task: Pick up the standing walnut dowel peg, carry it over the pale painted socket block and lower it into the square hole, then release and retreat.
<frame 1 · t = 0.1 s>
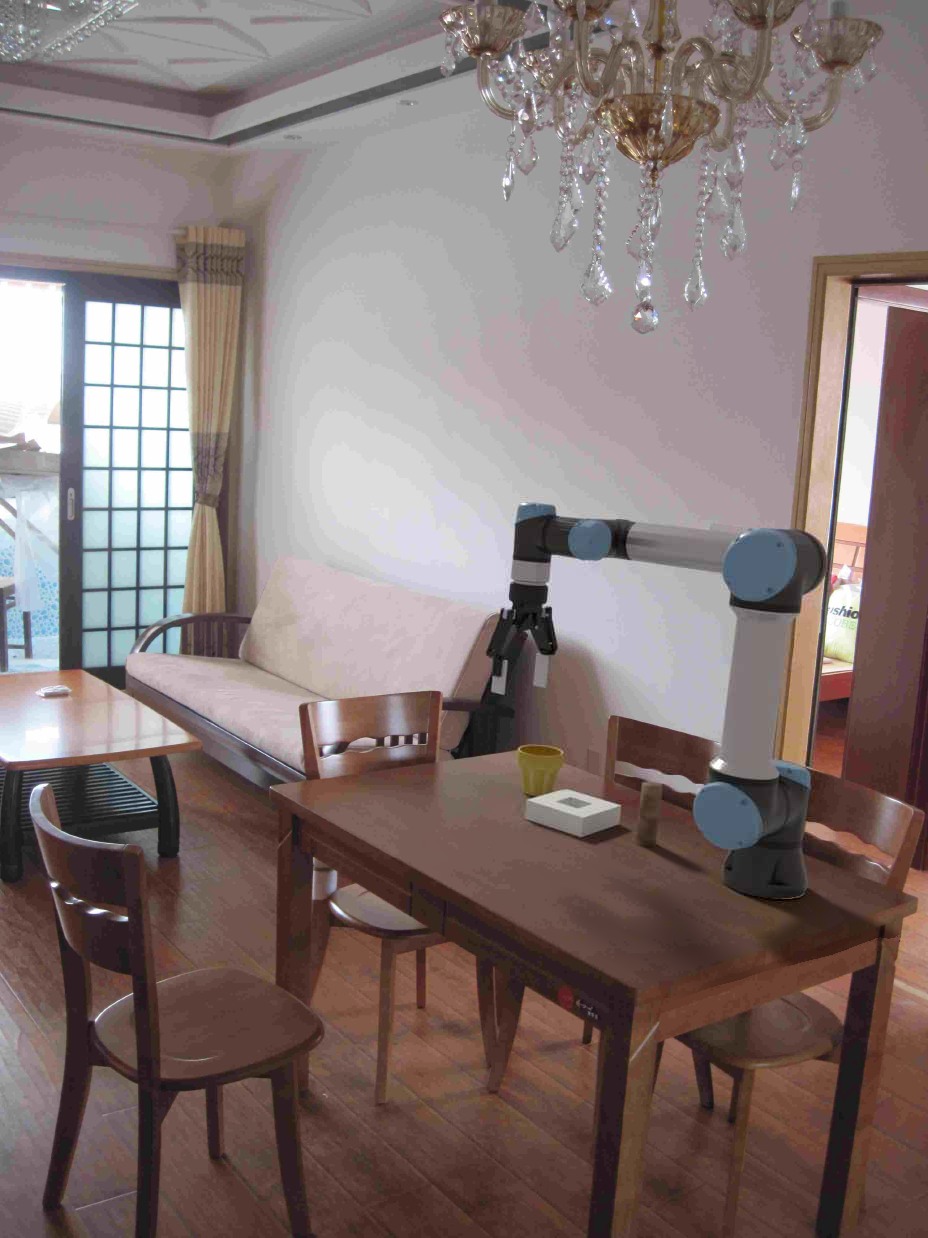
hand: (519, 689, 226), 28 cm above the table, fingers open, 13 cm apart
peg: (645, 843, 227), on the table
plant pot: (536, 793, 256), on the table
socket block: (572, 821, 237), on the table
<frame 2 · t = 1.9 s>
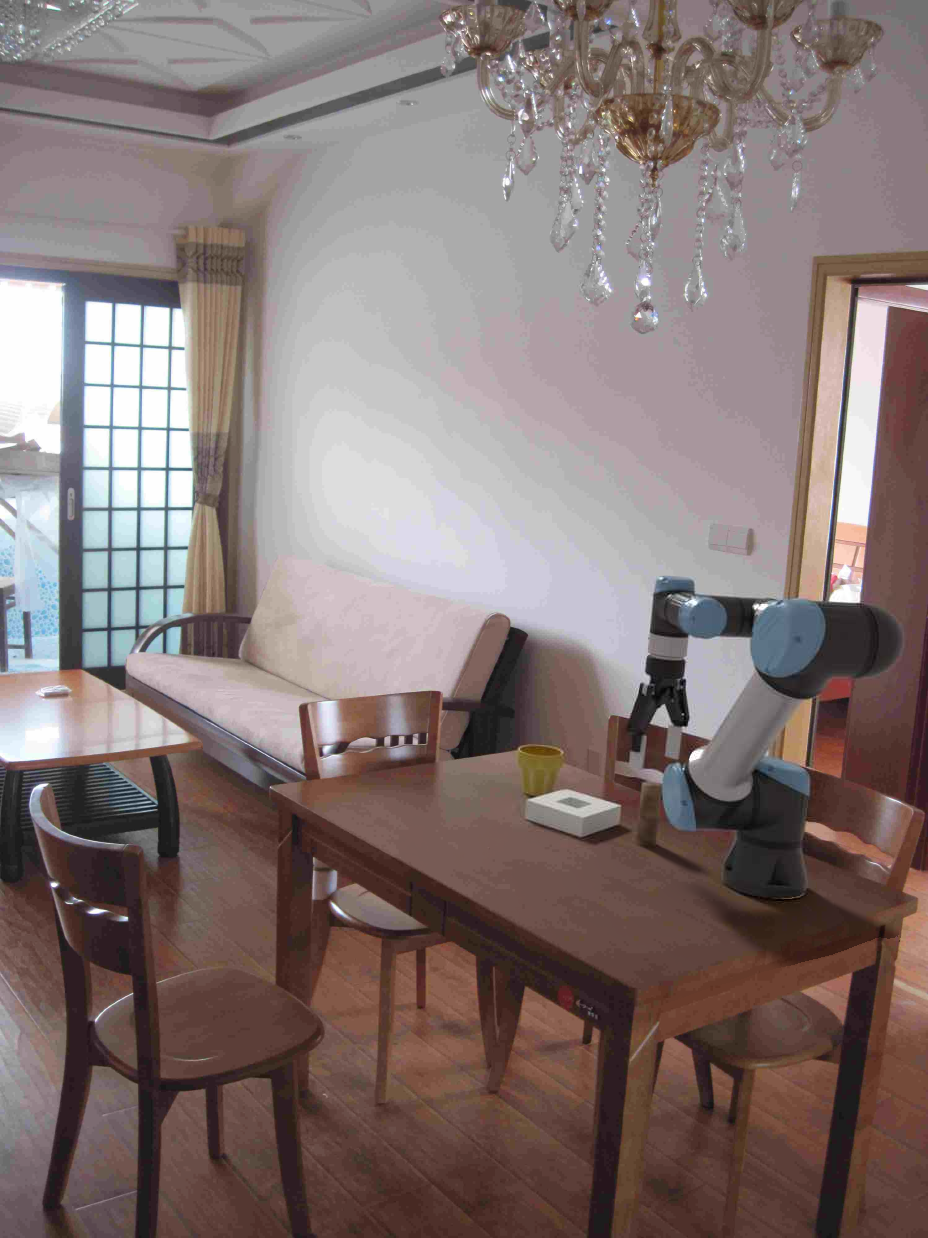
hand: (654, 763, 225), 16 cm above the table, fingers open, 13 cm apart
nothing on the table moved.
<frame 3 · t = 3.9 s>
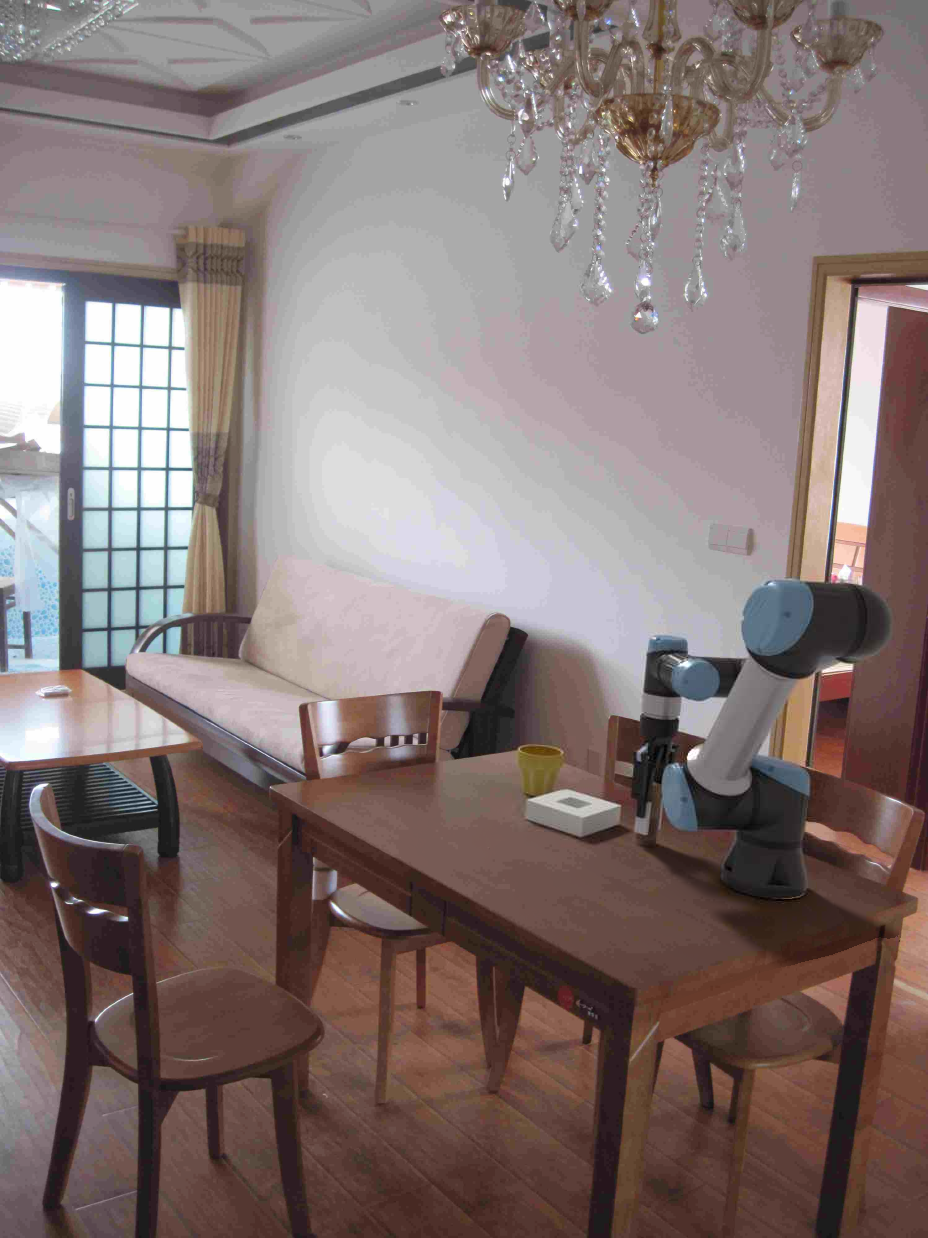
hand: (647, 830, 227), 3 cm above the table, fingers closed on peg, 4 cm apart
peg: (645, 843, 227), on the table, touching gripper
everything else where it was.
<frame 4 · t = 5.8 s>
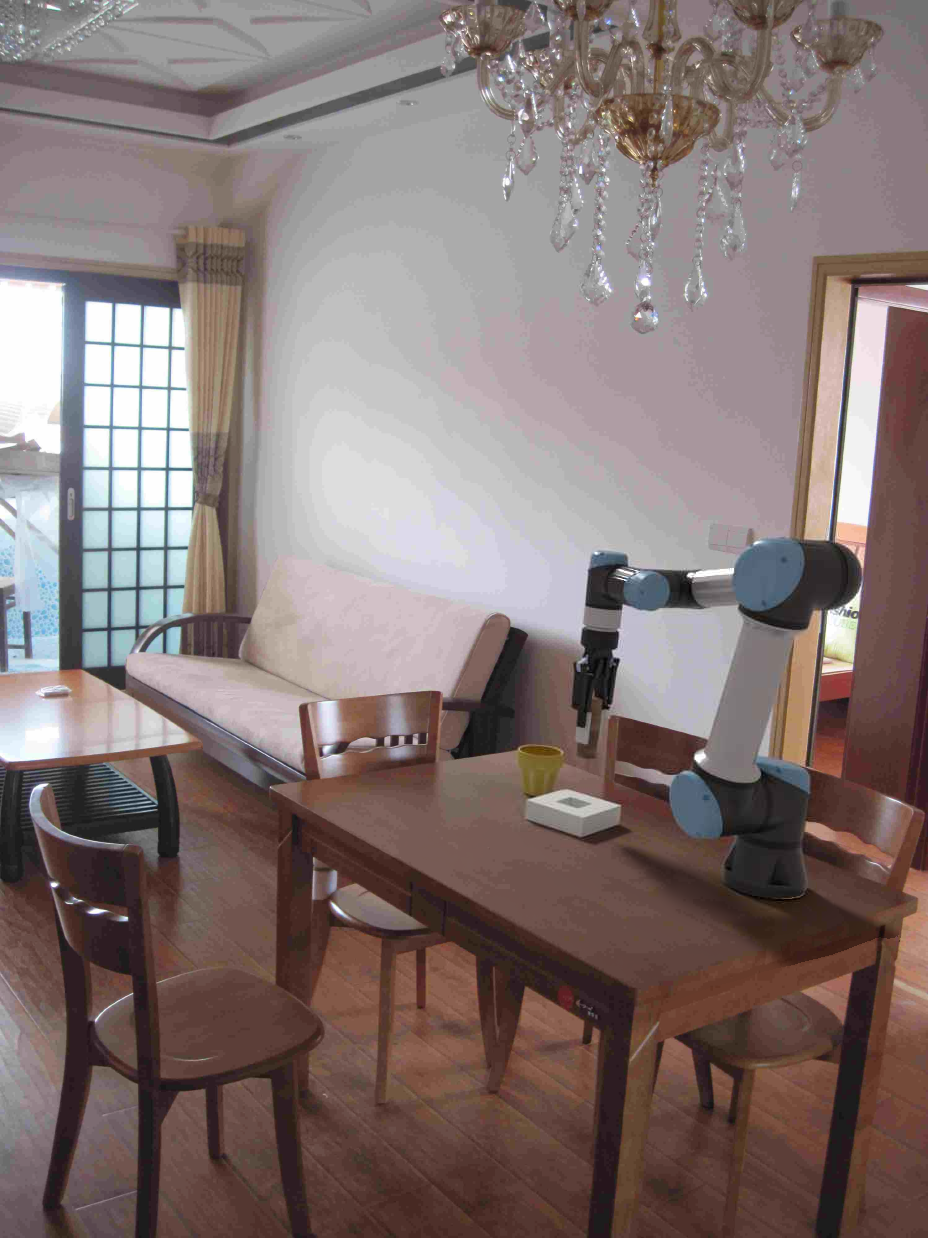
hand: (587, 741, 234), 17 cm above the table, fingers closed on peg, 4 cm apart
peg: (586, 756, 234), point 14 cm above the table, touching gripper
everything else where it was.
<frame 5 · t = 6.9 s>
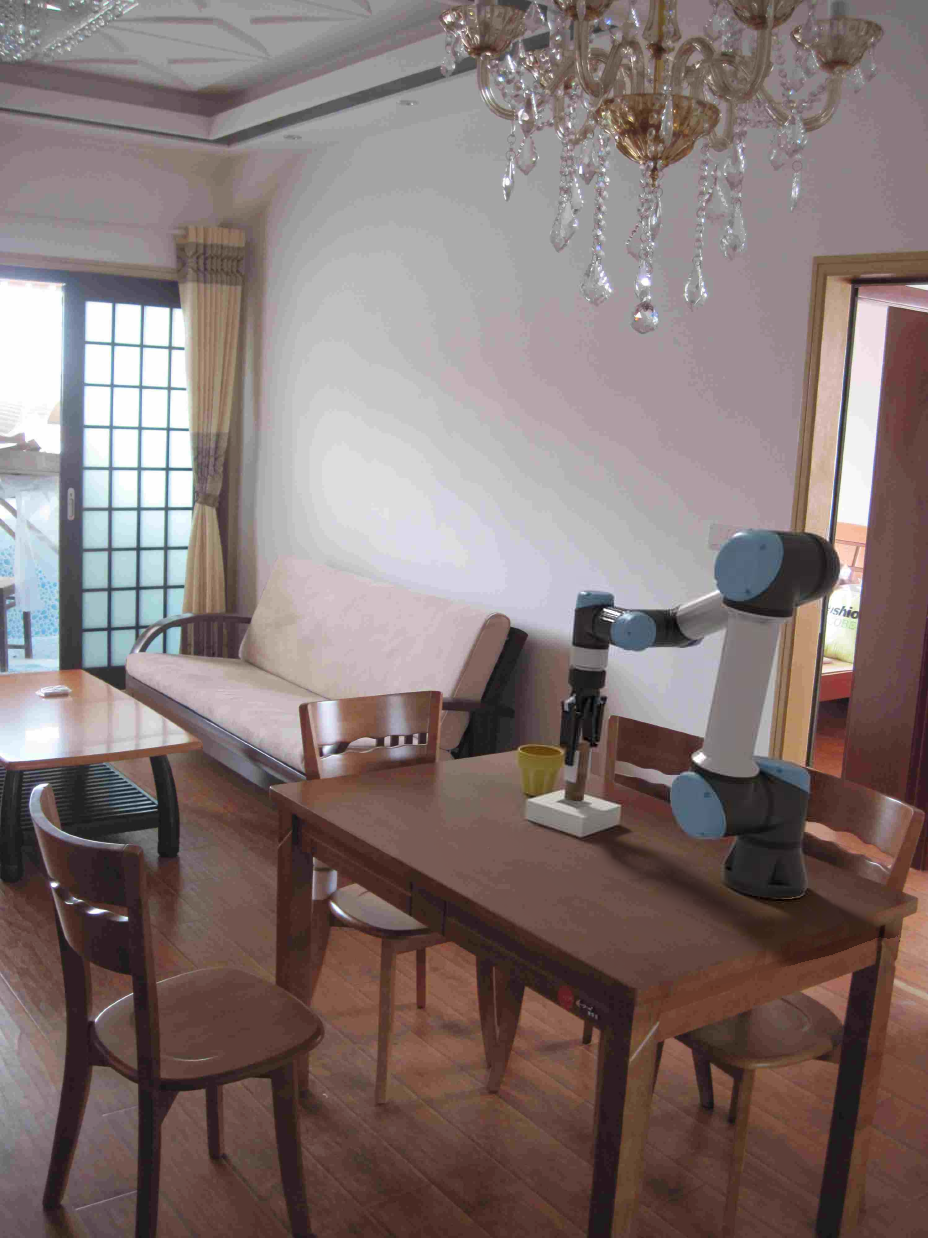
hand: (576, 778, 236), 9 cm above the table, fingers closed on peg, 4 cm apart
peg: (573, 798, 236), point 5 cm above the table, touching gripper
everything else where it was.
when the fingers open (6 cm above the table, at t = 7.9 s): peg drops 1 cm, on the table.
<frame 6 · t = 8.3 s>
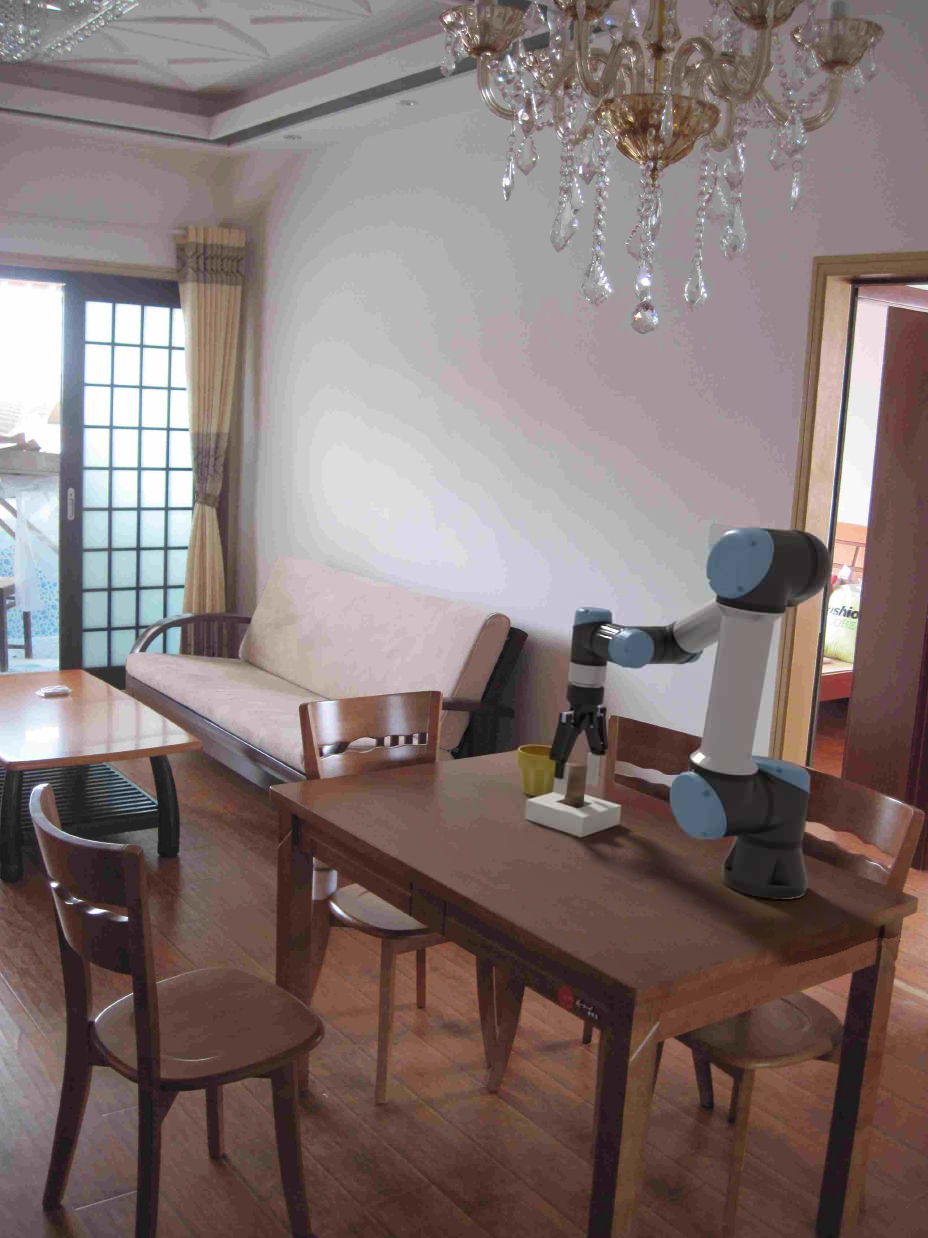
hand: (575, 789, 236), 7 cm above the table, fingers open, 10 cm apart
peg: (571, 821, 237), on the table
everything else where it was.
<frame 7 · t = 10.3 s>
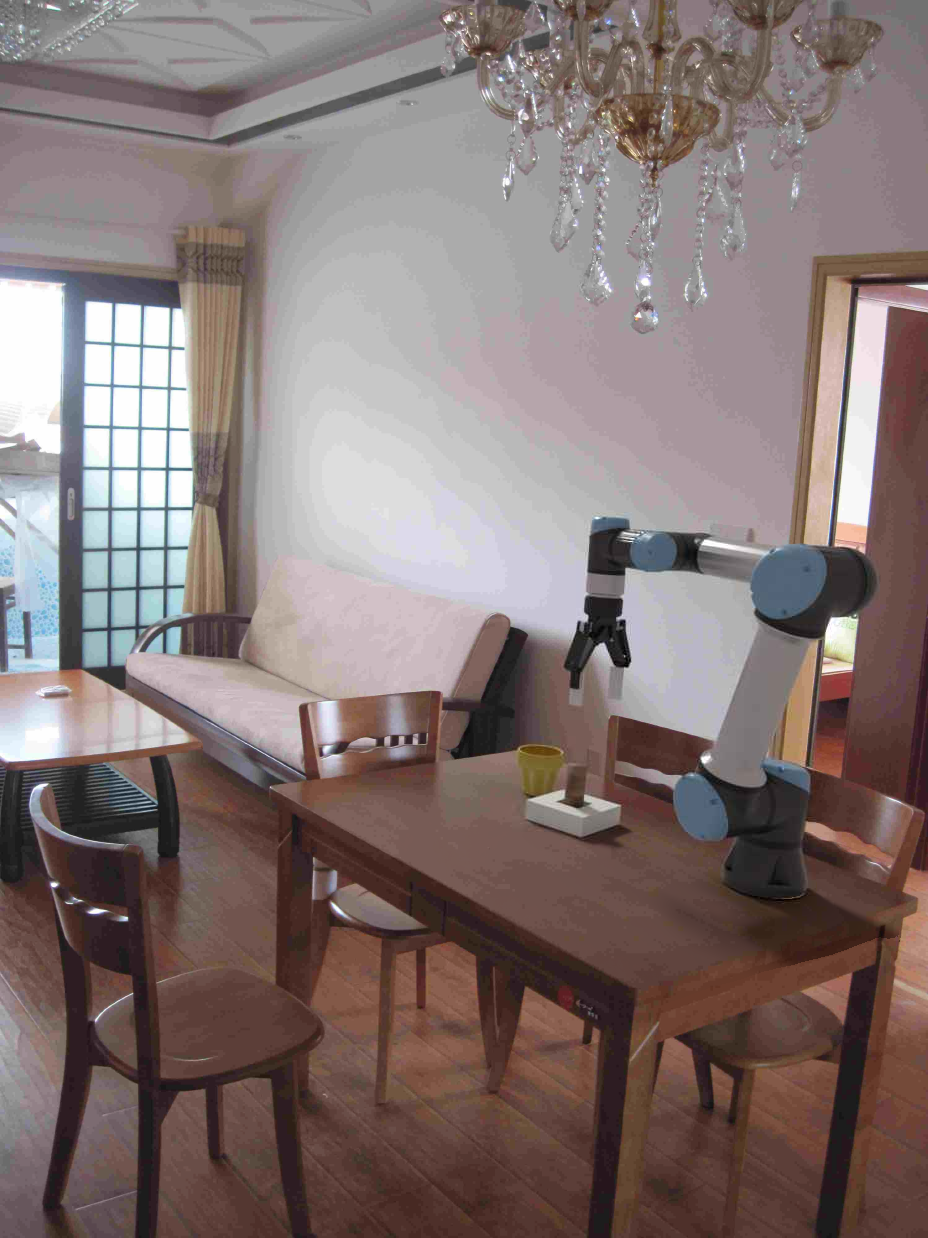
hand: (595, 702, 228), 26 cm above the table, fingers open, 13 cm apart
nothing on the table moved.
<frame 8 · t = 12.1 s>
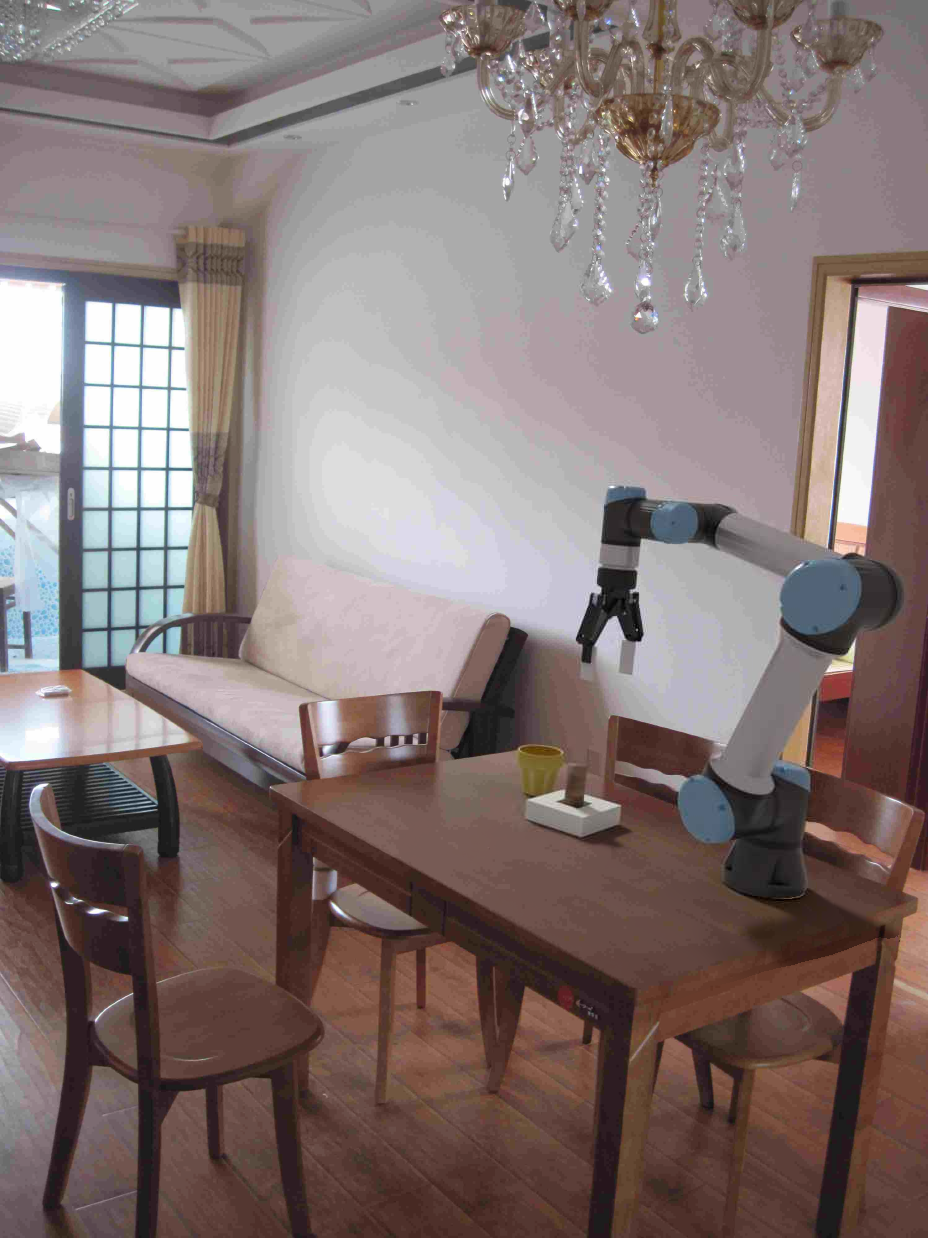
hand: (606, 676, 221), 33 cm above the table, fingers open, 13 cm apart
nothing on the table moved.
at the end: peg 0.1 cm off-centre on the socket block, point 0.0 cm above the socket block's base; peg tilted 0°; the gripper is holding nothing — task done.
